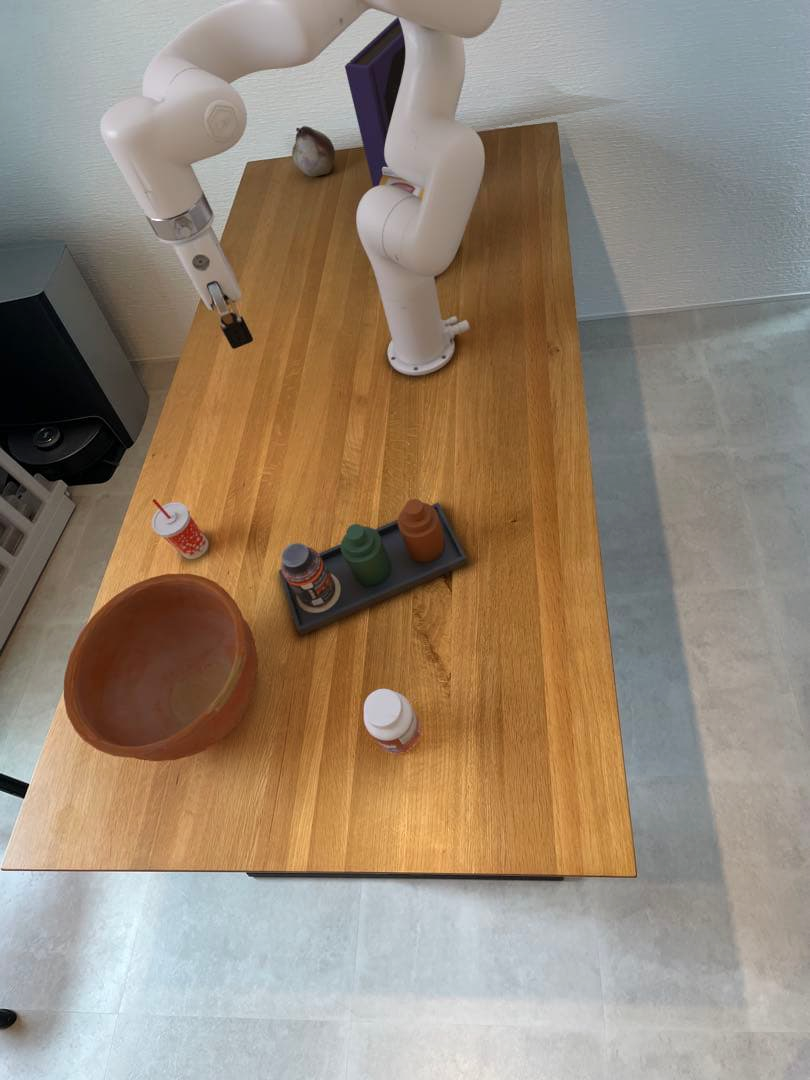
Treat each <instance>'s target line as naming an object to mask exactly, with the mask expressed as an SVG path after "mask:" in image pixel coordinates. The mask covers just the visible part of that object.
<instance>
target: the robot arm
mask: <svg viewBox="0 0 810 1080" xmlns="http://www.w3.org/2000/svg"><path fill="white" fill-rule="evenodd" d="M502 2H503V0H230V1H228V2H226V3H224V4H222V5H220V6H218V7H215V8H214V9H212V10H210V11H208V12H206V13H204V14H203V15H201V16H199V17H198V18H196V19H195V20H194V21H192V22H190V23H189V24H188V25H187V26H185V27H184V28H183V29H182V30H181V31H180V32H179V33H177V34H176V35H175V36H174V37H173V38H172V39H171V40H170V41H169V42H168V43H167V44H165V45H164V46H163V47H162V48H161V49H160V50H159V51H158V52H157V53H156V54H155V56H154V57H153V58H152V59H151V60H150V62H149V64H148V66H147V67H146V69H145V72H144V74H143V77H142V82H141V95H142V96H133V97H131V98H127V99H124V100H122V101H119V102H118V103H116V104H114V105H113V106H111V107H110V108H109V109H107V110H106V112H105V113H104V114H103V116H102V118H101V120H100V123H99V131H100V136H101V138H102V140H103V142H104V144H105V145H106V148H107V149H108V152H109V153H110V155H111V156H112V158H113V161H115V164H116V166H117V167H118V169H119V171H120V173H121V175H122V176H123V178H124V180H125V182H126V183H127V185H128V187H129V188H130V190H131V192H132V194H133V196H134V198H135V200H136V201H137V203H138V206H139V207H140V209H141V211H142V212H143V214H144V217H146V219H147V221H148V223H149V225H150V227H151V229H152V231H153V232H154V234H155V236H156V237H157V239H158V240H159V242H161V243H163V244H166V245H171V246H172V248H173V250H174V251H175V253H176V255H177V257H178V259H179V260H180V262H181V264H182V267H183V268H184V270H185V272H186V273H187V276H188V277H189V279H190V281H191V283H193V286H194V288H195V289H196V291H197V293H198V295H199V296H200V298H201V300H202V301H203V303H204V305H205V306H206V308H207V309H208V310H209V311H212V312H214V314H215V316H216V317H217V320H218V322H219V324H220V325H219V326H220V329H221V331H222V332H223V334H224V336H225V338H226V340H227V342H228V343H229V346H230V347H231V349H233V350H236V349H238V348H241V347H242V346H246V345H247V344H250V343H253V341H254V337H253V335H252V333H251V331H250V329H249V327H248V325H247V323H246V322H245V319H244V317H243V316H242V315H240V313H239V311H238V309H237V307H236V304H235V303H236V302H238V301H241V299H242V298H243V297H242V296H243V294H242V290H241V288H240V286H239V283H238V280H237V277H236V275H235V273H234V272H235V271H234V270H233V267H232V265H231V263H230V261H229V259H228V257H227V255H226V253H225V251H224V249H223V248H222V244H221V243H220V240H219V238H218V237H217V235H216V232H215V230H214V228H213V227H212V225H213V222H214V220H215V214H214V211H213V210H212V207H211V205H210V203H209V201H208V199H207V197H206V194H205V192H204V190H203V188H202V186H201V184H200V181H199V179H198V176H197V175H196V173H195V171H194V169H193V166H192V165H193V164H195V163H198V162H202V161H203V160H206V159H209V158H212V157H215V156H218V155H220V154H223V153H225V152H226V151H229V150H231V148H233V147H234V146H236V145H237V144H238V143H239V142H240V140H241V139H242V137H243V135H244V133H245V131H246V127H247V122H248V115H247V114H248V113H247V109H246V105H245V102H244V99H243V98H242V96H241V95H240V93H239V92H238V90H236V89H235V87H233V86H232V85H231V84H232V83H233V82H235V81H237V80H239V79H241V78H243V77H245V76H247V75H251V74H254V73H257V72H261V71H269V70H280V69H289V68H295V67H299V66H303V65H306V64H309V63H311V62H313V61H315V59H317V57H318V56H320V55H321V54H322V53H323V52H324V51H325V50H326V49H327V48H328V47H329V46H330V45H331V44H332V43H333V42H334V41H335V40H337V38H338V37H340V36H341V34H342V33H343V32H345V31H346V30H347V29H348V28H349V27H350V26H352V25H353V23H354V22H355V21H357V20H358V19H359V18H360V17H361V16H362V15H363V14H364V13H366V12H367V11H368V10H370V9H373V10H376V11H378V12H382V13H385V14H388V15H391V16H394V17H396V18H397V17H398V18H399V20H400V23H401V26H402V30H403V34H404V40H405V49H406V57H405V65H404V70H403V75H402V79H401V84H400V87H399V91H398V95H397V99H396V103H395V106H394V110H393V114H392V118H391V121H390V125H389V129H388V133H387V137H386V142H385V148H384V156H385V161H386V164H387V166H388V167H389V168H390V169H391V171H392V172H394V173H395V174H396V175H398V176H399V177H401V178H402V179H404V180H406V181H408V182H410V183H412V184H414V185H416V186H418V187H420V188H422V189H424V194H423V198H422V199H421V198H419V197H417V196H415V195H414V194H412V193H410V192H408V191H406V190H404V189H401V188H399V187H396V186H392V185H379V186H376V187H374V188H373V187H372V188H370V189H369V190H367V191H366V192H365V193H364V195H363V196H362V198H361V199H360V201H359V203H358V205H357V206H358V207H357V210H356V216H355V222H356V229H357V233H358V238H359V239H360V242H361V245H362V247H363V249H364V252H365V253H366V256H367V258H368V260H369V262H370V265H371V267H372V270H373V273H374V276H375V280H376V283H377V287H378V292H379V294H380V300H381V302H382V306H383V311H384V315H385V318H386V321H387V325H388V329H389V333H390V336H391V337H390V338H391V340H390V342H389V345H388V347H387V358H388V361H389V363H390V365H391V366H392V368H393V369H394V370H396V371H397V372H399V373H400V374H404V375H407V376H424V375H428V374H431V373H434V372H436V371H439V370H440V369H442V368H443V367H445V366H446V365H447V364H448V363H449V362H450V360H451V359H452V358H453V355H454V353H455V350H456V349H455V348H456V346H455V345H456V344H455V340H454V339H455V336H456V335H459V334H463V333H465V332H468V331H470V329H471V328H470V327H471V326H470V323H469V322H468V320H467V319H464V320H462V321H458V318H457V315H454V316H451V317H449V318H447V319H445V320H444V319H442V314H441V309H440V308H441V307H440V302H439V297H438V291H437V286H436V279H435V277H436V276H439V275H441V274H442V273H444V272H445V271H446V270H447V269H448V267H449V266H450V265H451V264H452V262H453V261H454V259H455V257H456V255H457V252H458V250H459V248H460V245H461V242H462V241H463V238H464V237H463V236H464V233H465V231H466V228H467V225H468V223H469V219H470V216H471V214H472V211H473V208H474V205H475V203H476V199H477V196H478V193H479V190H480V187H481V184H482V180H483V176H484V172H485V163H486V162H485V161H486V154H485V147H484V144H483V141H482V138H481V137H480V135H479V134H478V133H477V132H476V131H475V129H473V128H471V127H470V126H469V125H467V124H465V123H463V122H460V121H458V120H456V119H455V118H456V112H457V109H458V105H459V101H460V98H461V93H462V89H463V86H464V81H465V76H466V53H465V46H464V39H472V38H476V37H479V36H481V35H482V34H484V33H485V32H486V31H487V30H488V29H489V28H491V26H492V25H493V23H494V22H495V20H496V19H497V17H498V15H499V12H500V10H501V7H502ZM228 306H230V308H231V310H232V312H231V310H230V309H229V307H228Z"/></svg>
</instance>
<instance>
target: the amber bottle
mask: <svg viewBox="0 0 810 1080" xmlns="http://www.w3.org/2000/svg"><path fill="white" fill-rule="evenodd" d="M431 505H432V504H429V503H426V502H422V500H420V499H417V498H412V499H409V500H408V501H406V503H405V505H404V508H403V509H402V510H401V511H400V513H399V514H398V518H397V520H398V527H399V529H400V532H401V535H402V538H403V540H404V543H405V546H406V549H407V551H408V554H409V555H410V557H411V558H412V559H414V560H415V561H418V562H423V563H426V562H431V561H434V560H436V559H437V558H439V557H440V556H441V554H442V553H443V551H444V549H445V539H444V536H443V532H442V528H441V524H440V520H439V517H438V513H437V511H436V510H435V508H434V507H432V506H431Z"/></svg>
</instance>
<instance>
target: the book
mask: <svg viewBox="0 0 810 1080" xmlns="http://www.w3.org/2000/svg"><path fill="white" fill-rule="evenodd" d="M405 57H406V49H405V40H404V34H403V30H402V26H401V23H400V20H399V18H398V17H397V16H396V18H395V19H394V20H392V21H391V22H390V23H389V24H388V25H387V26H386V27H385V28H384V29H383V30H381V32H380V33H378V34H377V35H376V36H375V37H374V38H373V39H372V40H371V41H370V42H369V43H368V44H367V45H365V47H363V48H362V49H361V50H360V51H359V52H358V53H357V54H355V56H354V57H352V58H351V60H349V62H347V63H346V64H345V65H344V69H345V74H346V77H347V81H348V87H349V90H350V95H351V99H352V104H353V108H354V113H355V116H356V120H357V124H358V129H359V133H360V137H361V142H362V146H363V149H364V155H365V159H366V163H367V167H368V170H369V171H368V172H369V175H370V176H369V177H370V180H371V184H372V188H374V187H376V186H379V184H380V181H381V178H382V176H383V172H382V168H383V167H388V166H387V164H386V161H385V156H384V148H385V142H386V137H387V133H388V129H389V125H390V121H391V118H392V114H393V110H394V106H395V103H396V99H397V95H398V91H399V87H400V84H401V79H402V75H403V70H404V65H405ZM388 168H389V167H388Z"/></svg>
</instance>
